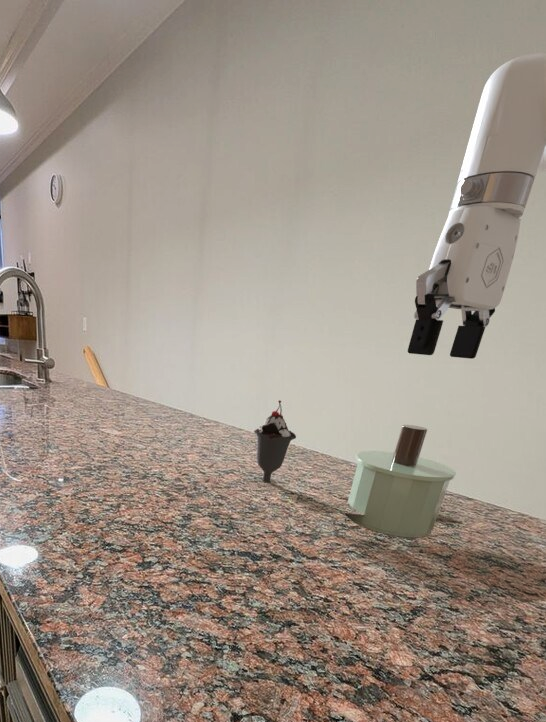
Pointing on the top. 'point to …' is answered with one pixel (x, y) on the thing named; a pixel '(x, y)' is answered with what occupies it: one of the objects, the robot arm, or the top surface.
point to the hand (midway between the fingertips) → (441, 356)
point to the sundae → (272, 443)
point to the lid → (406, 458)
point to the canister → (395, 503)
